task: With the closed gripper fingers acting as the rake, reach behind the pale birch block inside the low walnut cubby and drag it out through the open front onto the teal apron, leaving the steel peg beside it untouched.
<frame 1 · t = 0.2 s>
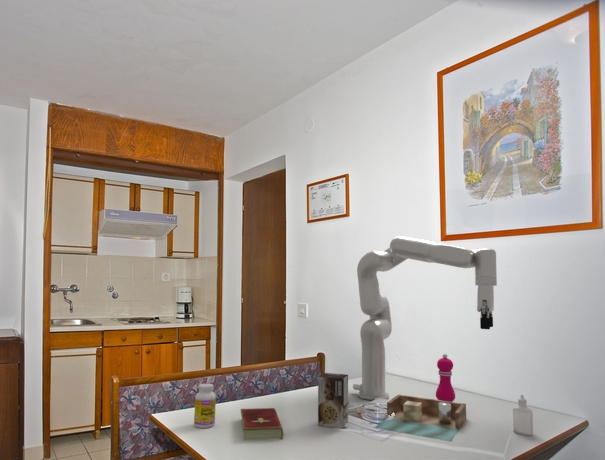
hand: (486, 327, 175), 31 cm above the table, fingers open, 9 cm apart
supplement bottle: (204, 426, 154), on the table
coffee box: (333, 425, 157), on the table
birch block: (412, 418, 162), point 1 cm above the table, touching cubby
eye dropper bottle: (523, 433, 151), on the table
steel peg: (444, 422, 158), point 1 cm above the table, touching cubby
pepper mill: (445, 407, 180), on the table
hardcover book: (260, 430, 151), on the table
cubby: (421, 426, 157), on the table
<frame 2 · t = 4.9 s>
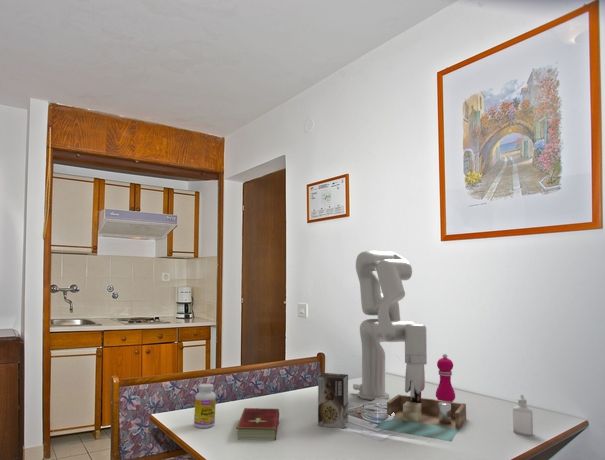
hand: (416, 412, 165), 2 cm above the table, fingers closed
birch block: (412, 419, 161), point 1 cm above the table, touching gripper
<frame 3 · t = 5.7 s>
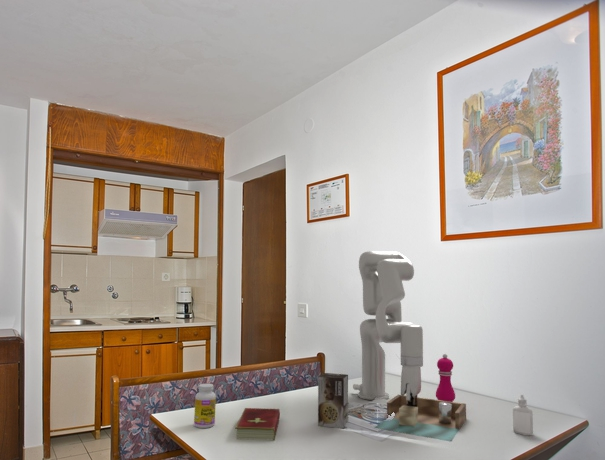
hand: (412, 415, 161), 2 cm above the table, fingers closed
birch block: (408, 423, 156), point 1 cm above the table, touching cubby, gripper
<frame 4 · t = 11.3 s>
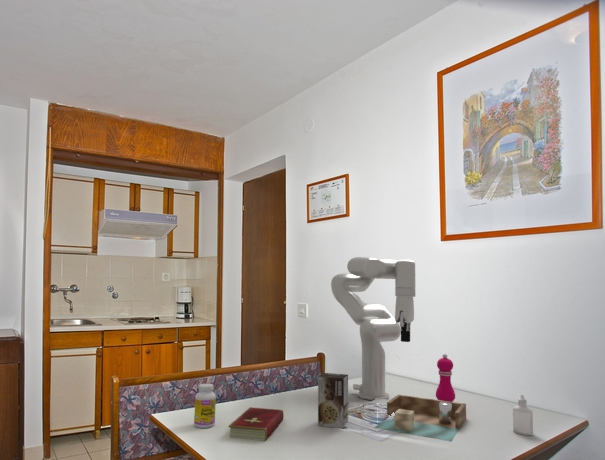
hand: (405, 341, 178), 25 cm above the table, fingers closed
birch block: (404, 427, 152), point 1 cm above the table, touching cubby
at the end: birch block inside the target area (0.6 cm from its centre), point 1.0 cm above the table; birch block tilted 0°; steel peg moved 0.1 cm from its start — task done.
